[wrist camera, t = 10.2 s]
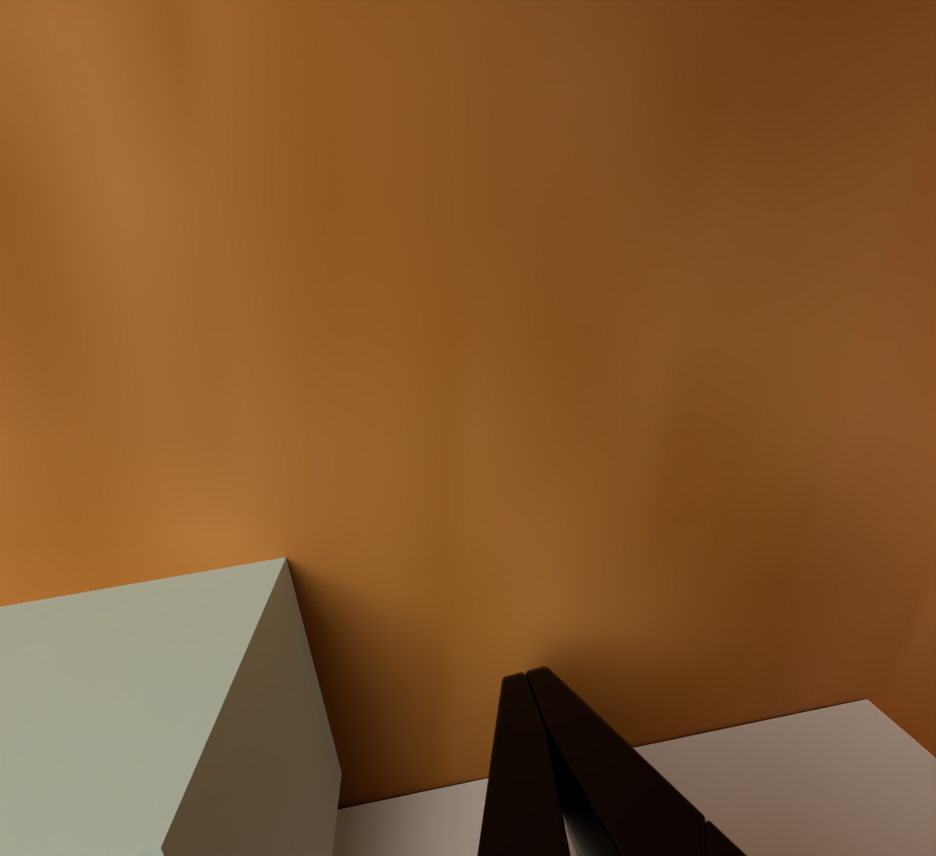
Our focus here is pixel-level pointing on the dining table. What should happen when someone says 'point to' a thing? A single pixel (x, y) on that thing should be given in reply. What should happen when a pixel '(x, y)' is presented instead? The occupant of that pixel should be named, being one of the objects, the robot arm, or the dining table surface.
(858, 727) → the cleat board
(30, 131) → the dining table surface
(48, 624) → the cabinet block
